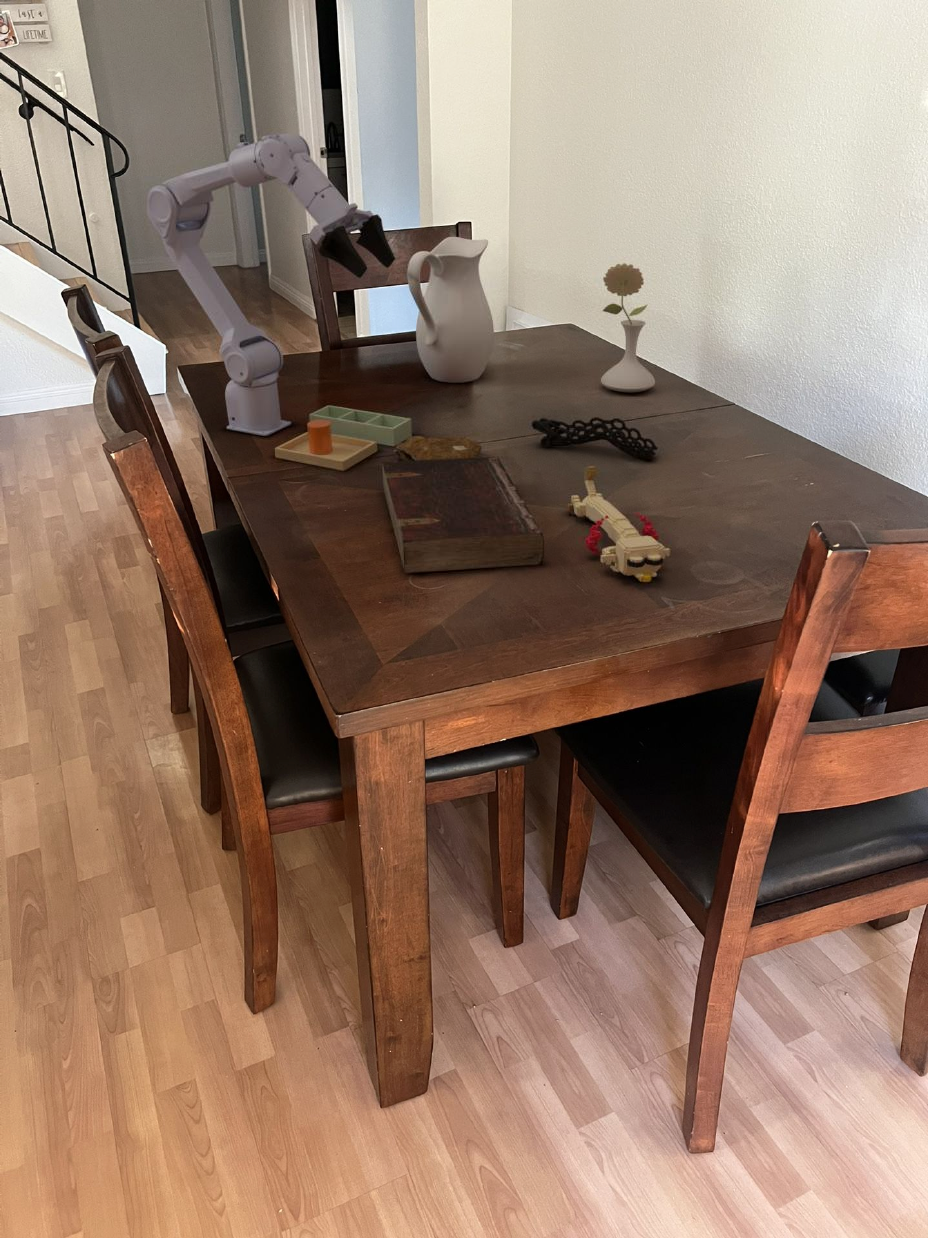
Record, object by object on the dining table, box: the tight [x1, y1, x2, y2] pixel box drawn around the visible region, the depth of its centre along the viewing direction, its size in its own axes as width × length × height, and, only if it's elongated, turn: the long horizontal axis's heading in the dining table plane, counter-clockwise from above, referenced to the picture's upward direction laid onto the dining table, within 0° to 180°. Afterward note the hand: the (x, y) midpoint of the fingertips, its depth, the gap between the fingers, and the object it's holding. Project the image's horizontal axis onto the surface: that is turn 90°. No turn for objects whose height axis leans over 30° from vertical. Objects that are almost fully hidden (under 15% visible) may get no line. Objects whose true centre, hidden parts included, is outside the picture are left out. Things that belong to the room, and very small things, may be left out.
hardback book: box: [381, 456, 545, 574], centre depth 131 cm, size 29×19×5 cm, turn 10°
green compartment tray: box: [308, 404, 413, 447], centre depth 166 cm, size 18×6×3 cm, turn 63°
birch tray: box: [274, 431, 378, 472], centre depth 157 cm, size 14×11×2 cm
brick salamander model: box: [566, 465, 671, 583], centre depth 123 cm, size 10×9×25 cm
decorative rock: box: [393, 435, 483, 461], centre depth 153 cm, size 11×4×15 cm
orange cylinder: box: [306, 420, 333, 455], centre depth 156 cm, size 4×4×5 cm
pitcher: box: [406, 236, 495, 384], centre depth 190 cm, size 24×17×28 cm
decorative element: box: [531, 416, 658, 461], centre depth 157 cm, size 22×5×6 cm, turn 66°
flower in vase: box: [600, 262, 656, 393], centre depth 185 cm, size 13×11×25 cm
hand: (377, 267), depth 143 cm, fingers open, 7 cm apart
